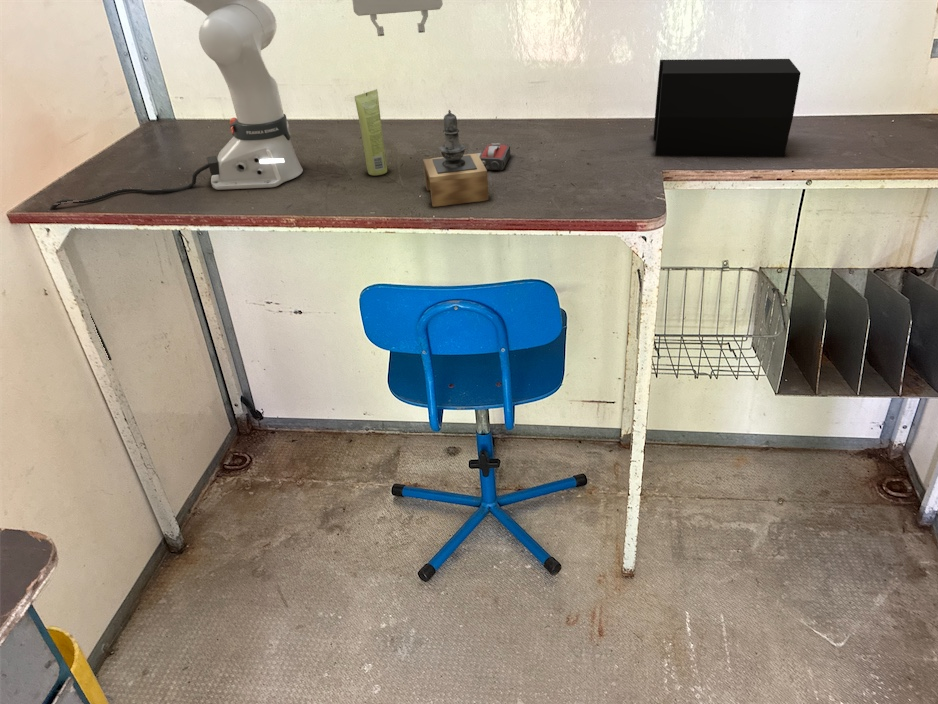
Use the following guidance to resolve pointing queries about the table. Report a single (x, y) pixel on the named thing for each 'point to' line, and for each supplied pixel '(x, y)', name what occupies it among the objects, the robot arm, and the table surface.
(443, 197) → the stand
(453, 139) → the chess piece
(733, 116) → the uninterruptible power supply
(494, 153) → the walkie-talkie
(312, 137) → the table surface
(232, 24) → the robot arm
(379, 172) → the tube
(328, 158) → the table surface
